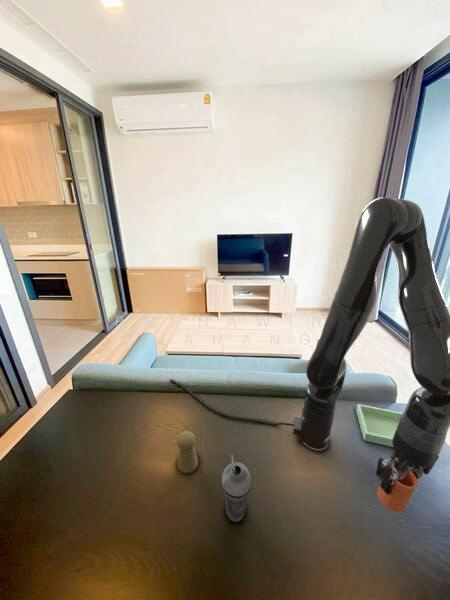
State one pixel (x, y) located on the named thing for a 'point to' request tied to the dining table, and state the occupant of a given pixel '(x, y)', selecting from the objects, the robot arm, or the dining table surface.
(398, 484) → the terracotta cup
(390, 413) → the tray
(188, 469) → the beige pawn figure
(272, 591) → the dining table surface
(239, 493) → the beverage cup
